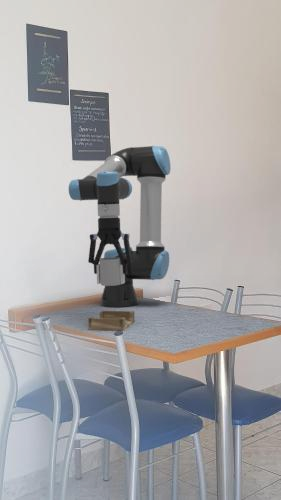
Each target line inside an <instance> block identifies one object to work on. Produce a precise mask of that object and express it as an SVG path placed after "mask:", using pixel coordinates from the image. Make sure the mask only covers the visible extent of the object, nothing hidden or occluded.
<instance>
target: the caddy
mask: <svg viewBox="0 0 281 500" xmlns="http://www.w3.org/2000/svg"><path fill="white" fill-rule="evenodd" d="M87 321H88V330H89V331H115V330H122V331H125V330H126V329H128V328H129V327H130V326H131V325H133V324H134V323H135V311H134V310H129V311H128V310H101V311H99V317H94V316H90V317H89V318H88V319H87Z"/></svg>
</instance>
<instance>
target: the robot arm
mask: <svg viewBox="0 0 281 500" xmlns="http://www.w3.org/2000/svg"><path fill="white" fill-rule="evenodd" d="M169 155H170V154H169V151H168V150H167V149H166V148H165V147H164V146H163V145H162V146H161V145H151V146H137V147H136V146H135V147H133V146H131V147H127V148H123V149H120V150H118V151H116V152H114V153H112V154H110V155H109V156H108V157H107V158H105V161H104V162H103V164H101V165H100V166H98V167H97V168H96V169H94V170H93V171H92V172H90V173H89V174H88V175H86V176H85V177H84V178H81V179H79V178H76V179H72V180H70V182H69V184H68V195H69V196H70V199H72V200H73V201H80V202H81V201H97V216H98V219H97V226H98V227H97V229H98V230H97V233H91V234H89V240H90V241H89V242H90V245H89V252H88V261H87V262H88V263H89V264H92V265H93V273H94V275H96V284H97V285H101V282H100V258H102V255H103V258H111V257H116V258H120V260H121V265H120V279H121V284H120V285H116V286H104V288H103V291H102V295H101V298H100V304H101V306H103V307H110V308H123V307H131V306H136V305H138V301H139V300H138V296H137V293H136V291H135V287H134V284H133V283H134V280H147V281H148V280H149V281H156V280H163V279H164V278H165V277H166V275H167V273H168V271H169V267H170V253H169V251H167V250H165V249H166V248H165V245H164V244H163V243H162V197H163V196H162V195H163V193H162V190H163V189H162V185H163V183H164V182H165V181H166V176H168V175H170V173H171V160H170V156H169ZM132 176H133V177H136V180H137V181H138V182H139V183H140V200H139V201H140V204H139V205H140V209H139V212H140V214H139V215H140V216H139V242H138V243H137V245H136V246H135V250H133V248H132V246H131V245H130V233H123V232H122V230H121V218H120V216H121V213H120V208H121V207H120V200H125V199H127V198H129V197H130V196H131V194H132V192H133V185H132V183H131V182H130V181H129V180H128V179H127V178H124V177H132ZM98 239H99V240H100V242H99V246H98V249H97V252H96V248H97V247H96V245H97V240H98ZM120 239H122V240H123V247H122V245H121V242H120ZM106 245H113V247H114V249H109V250H106V251H105V252H104V250H105V247H106ZM103 252H104V254H103ZM95 254H96V255H95Z"/></svg>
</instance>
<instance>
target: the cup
mask: <svg viewBox="0 0 281 500" xmlns="http://www.w3.org/2000/svg"><path fill="white" fill-rule="evenodd" d="M99 264H100V282H101V283H100V285H101V286H104V287H105V286H116V285H120V284H121V279H120V265H121V260H120V258H116V257H111V258H104V257H103V258H102V257H101V258H100V261H99Z"/></svg>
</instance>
